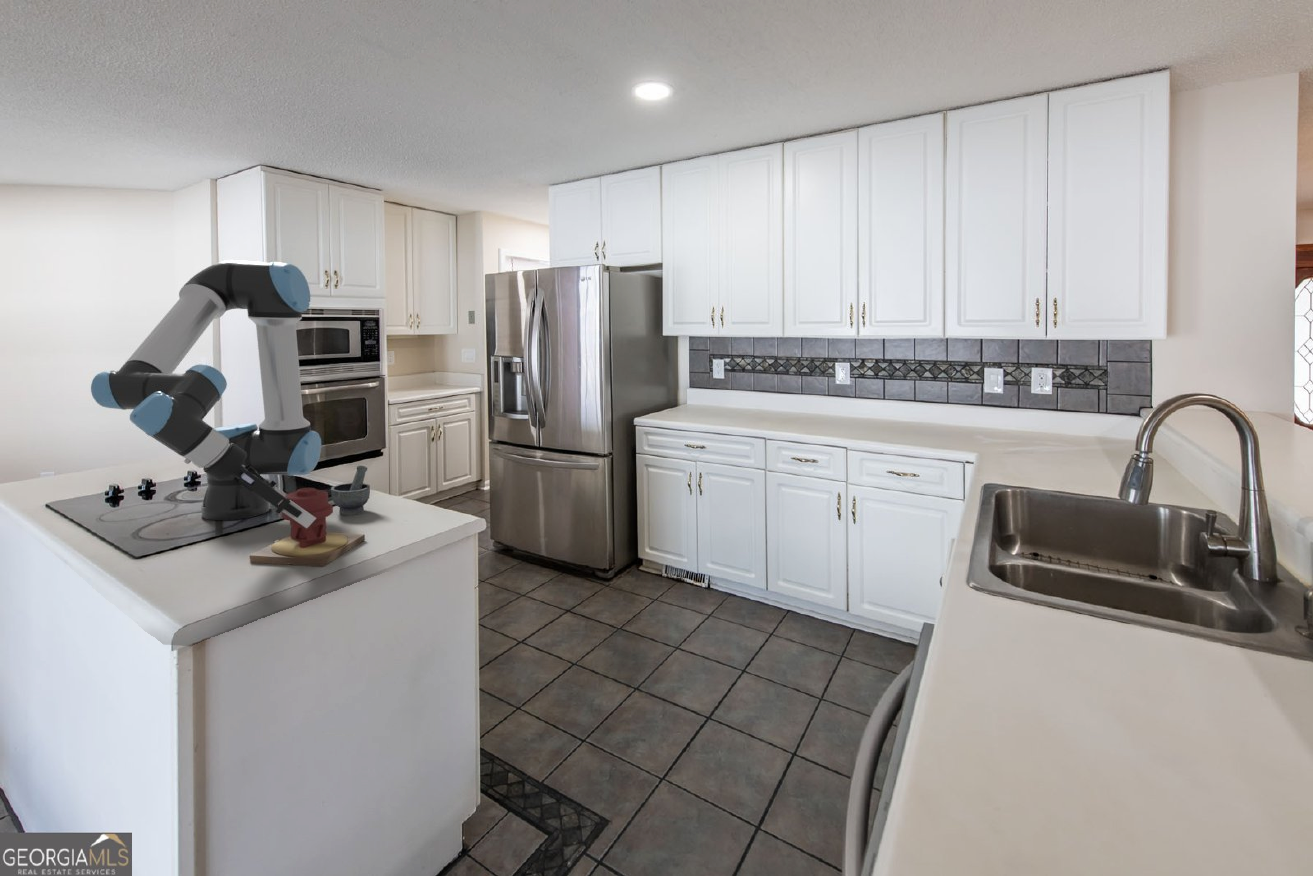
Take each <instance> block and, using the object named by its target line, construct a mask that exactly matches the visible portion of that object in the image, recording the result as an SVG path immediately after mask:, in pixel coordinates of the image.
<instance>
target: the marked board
mask: <svg viewBox="0 0 1313 876" xmlns="http://www.w3.org/2000/svg"><path fill="white" fill-rule="evenodd" d="M326 533H327V534H326V541H325V542H322V543H317V544H313V545H310V546H308V547H306V548H301V547H300V542H299V541H295V540H292V539H291V534H290V535H287V536H285V537H283V538H281V539H276V540H275V541H273V543H271V544H269V545H268V546H266V547H264V548H262V549H259V550H258V551H256V552H254V553H251V554H250V555H249V561H250V562H249V563H257V564H259V563H260V564H276V565H289V564H293V566H304V565H305V566H309V567H326V564H327V565H328V564H330V563H331V562H332V561H334V560H336V559H338V558H339V557H340V556H342V555H344V554H346V553H347V552H348V550H349V551H350V550H352V549H354V548H355V547H357V546H358V545H360V544H362V543H363V542H365V541H364V540H366V538H365V534H364V533H363V534H362V533H346V532H345V533H344V532H333V531H331V532H329V531H326ZM362 541H363V542H362ZM361 542H362V543H361ZM356 545H357V546H356ZM354 546H355V547H354ZM353 547H354V548H353Z"/></svg>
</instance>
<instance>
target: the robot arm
mask: <svg viewBox="0 0 1313 876" xmlns="http://www.w3.org/2000/svg"><path fill="white" fill-rule="evenodd" d="M178 297H179V299H178V300H177V301H176V303H175V304H174V305H173V306H172V307H171V309H170V310H169V311H168V312H167V313H165V315H164V317H162V319H161V320H160V321H159V323H158V324H157V325H156V326H155V327H154V328H153V330H151V332H150V333H149V334H148V335H147V337H146V338H144V340H143V342H141V344H140V345H139V346H138V347H137V349H135V351H134V352H133V353H132V354H131V356H129V358H128V359H127V361H125V362H124V364H123V365H122V366H121V368H120V369H118V370H117V371H115V370H110V371H108V370H107V371H101V372H99V373H97V374H96V375H95V376H94V377H93V379H92V381H91V385H90V393H91V395H92V398H93V400H94V401H95V403H97V404H98V405H99V406H101V407H103V408H106V409H107V408H108V409H115V410H123V411H124V410H132V411H131V413H130V414H129V421H130V422H131V423H132V424H133V425H135V426H136V427H137V428H138V429H140V430H141V431H142V432H144V433H145V434H146V435H148V436H149V437H151V438H152V439H154V440H156V441H157V442H159V443H161V444H162V445H164V446H165V447H167V448H168V449H170V450H171V451H173V452H175V454H178V455H179V456H181V457H182V458H183V459H184V460H183V462H184V463H185V464H186V465H189V464H190V463H192V464H193V465H194V466H196V467H197V468H199V469H200V468H201V469H202V468H203V472H204V473H205V474H206V481H207V482H206V483H207V486H206V491H205V494H204V497H203V501H202V503H201V504H202V505H201V507H200V508H201V509H200V510H201V517H202V518H204V519H206V520H212V521H230V520H229V519H234V520H240V519H241V518H243V519H248V517H249V518H252V517H257V516H259V515H260V514H261V515H263V514H266V513H267V512H269V511H270V510H269V509H271V505H272V506H274V507H275V508H276V510H275V512H276V513H277V514H281V511H282V512H283V513H285V514H286V515H288V516H289V517H291V518H292V519H294V520H295V521H297V522H298V523H300V524H301V525H303V526H304V527H305V528H308V527H309V526H310V525H311V524H312V522H313V521H314V520H315V519H316V518H315V517H314V516H313V515H311V514H310V513H308V512H307V511H305V510H304V509H303V508H301V507H300V506H298V505H297V504H295V503H294V502H293V501H291V500H289V499H287V498H285V496H286V495H287V493H285V492H284V491H283V490H282V489H279V487H277V486H276V485H277V482H276V481H274V480H271V481H269V480H267V479H266V478H265V477H263V476H261V475H270V476H271V475H272V476H277V475H278V476H290V477H292V476H306V475H308V474H310V473H311V472H312V471H314V469H315V468H316V467H317V465H318V462H319V460H320V458H321V457H320V456H321V453H322V438H321V436H320V434H319V432H317V431H315V430H312V427H311V422H310V421H309V420H307V419H306V418H305V417H304V413H303V412H304V411H303V399H302V385H301V374H300V361H299V348H298V337H297V324H298V323H299V322H300V321H301V320H302V319H303V313H302V312H306V311H307V310H309V308H310V304H311V303H310V302H311V291H310V286H309V283H308V281H307V279H306V276H305V274H304V273H303V272H302V270H301V268H299V267H298V266H296V265H294V264H292V263H288V262H279V261H255V260H253V261H252V260H251V261H250V260H236V259H234V260H233V259H231V260H230V259H229V260H223V261H220V262H216V263H213V264H211V265H210V266H208V267H206V268H204V269H201V271H199V272H197V273H196V274H195V275H193V276H192V277H191V278H190V279H189V280H188V281H187V282H186V283H185V284H184V285H183V286H182V287H181V288H180V290H179V292H178ZM236 309H237V310H239V309H240V310H247V317H248V319H250V320H251V321H252V322H253V324H255V326H256V337H257V338H256V339H257V349H258V359H259V369H260V379H261V389H262V390H261V391H262V401H263V412H264V413H263V414H264V419H263V421H261V423H259V425H258V426H257V424H256V423H250V422H249V423H241V424H240V423H239V424H233V425H226V426H225V425H224V426H219V427H213V426H211V425H209V424H208V423H207V422H205V421H204V419H205V417H206V416H207V415H208V414H209V412H210V411H211V410H212V408H213V407H214V406H215V405H216V404H217V402H218V401H220V399H222V398H221V397H222V396H223V394H224V392H225V391H226V389H227V386H228V383H227V379H226V377H225V376H224V374H223V373H222V372H221V371H220V370H219V369H217V368H215V367H213V366H211V365H207V364H199V363H198V364H195V365H193V366H191V367H189V368H188V369H187V370H185V373H174V371H175V370H176V369H177V368H178V366H179V365H180V364H181V362H182V361H183V360H184V358H185V357H186V356H187V354H188V353H189V352H190V351H191V349H192V348H193V347H194V346H195V344H196V343H197V341H198V340H199V339H200V338H201V336H202V335H203V333H204V332H205V331H206V329H207V328H208V327H209V325H210V324H211V323H212V322H213V320H215V319H217V320H218V319H220V318H221V317H223V316H224V314H225V312H227V311H231V310H236ZM262 513H263V514H262ZM261 515H260V516H261ZM241 520H242V519H241Z"/></svg>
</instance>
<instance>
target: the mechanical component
mask: <svg viewBox="0 0 1313 876" xmlns="http://www.w3.org/2000/svg"><path fill="white" fill-rule="evenodd" d="M286 494H287V493H286ZM285 498H287V499H289V500H291V501H293V502H294V503H295V504H297V505H298V506H300V507H301V508H303V509H304V510H305V511H307V512H308V513H310V514H311V515H313V516H314V517H315V518H316V519H315V520H314V521H313V522H312V524H311V525H310V526H309V527H308V528H305V527H304V526H303V525H301V524H300V523H298V522H297V521H295V520H294V519H292V518H291V517H289V516H288V515H286V514H285V513H283V512H282V511H281V512H280V514H281V518H282V519H284V520H286V521H289V525H290V535H291V539H292V540H295V541H299V542H300V547H301V548H306V547H308V546H310V545H313V544H317V543H322V542H325V541H326V534H327V533H326V532H327V518H328V517H330V516H331V515H332V514H333V513H334V507H333V506H334V505H332V504H331V503H329V492H328V491H326V490H322V489H316V488H315V487H302V488H298V489H297V490H295V491H291V492H290V493H288V494H287V495H286V496H285Z"/></svg>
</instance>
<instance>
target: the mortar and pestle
mask: <svg viewBox="0 0 1313 876" xmlns="http://www.w3.org/2000/svg"><path fill="white" fill-rule="evenodd" d="M366 472H368V467H367V466H364V465H357V466H356V472H355V475H354V478H353V480H352V482H347V483H340V484H336V485H332V486H331V487H330V495H331V499H332V501H333V503H334V504H335V505H336V506H337V507H338V508H339V510H338V511H339V515H343V516H344V515H345V516H353V515H359V514H362V513H364V512H365V511H364V510H365V509H364V506H365V504H367V503H368V501H369V499H370V496H371V494H370V492H371V485H370V484H367V483H364V480H365V476H366Z"/></svg>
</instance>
